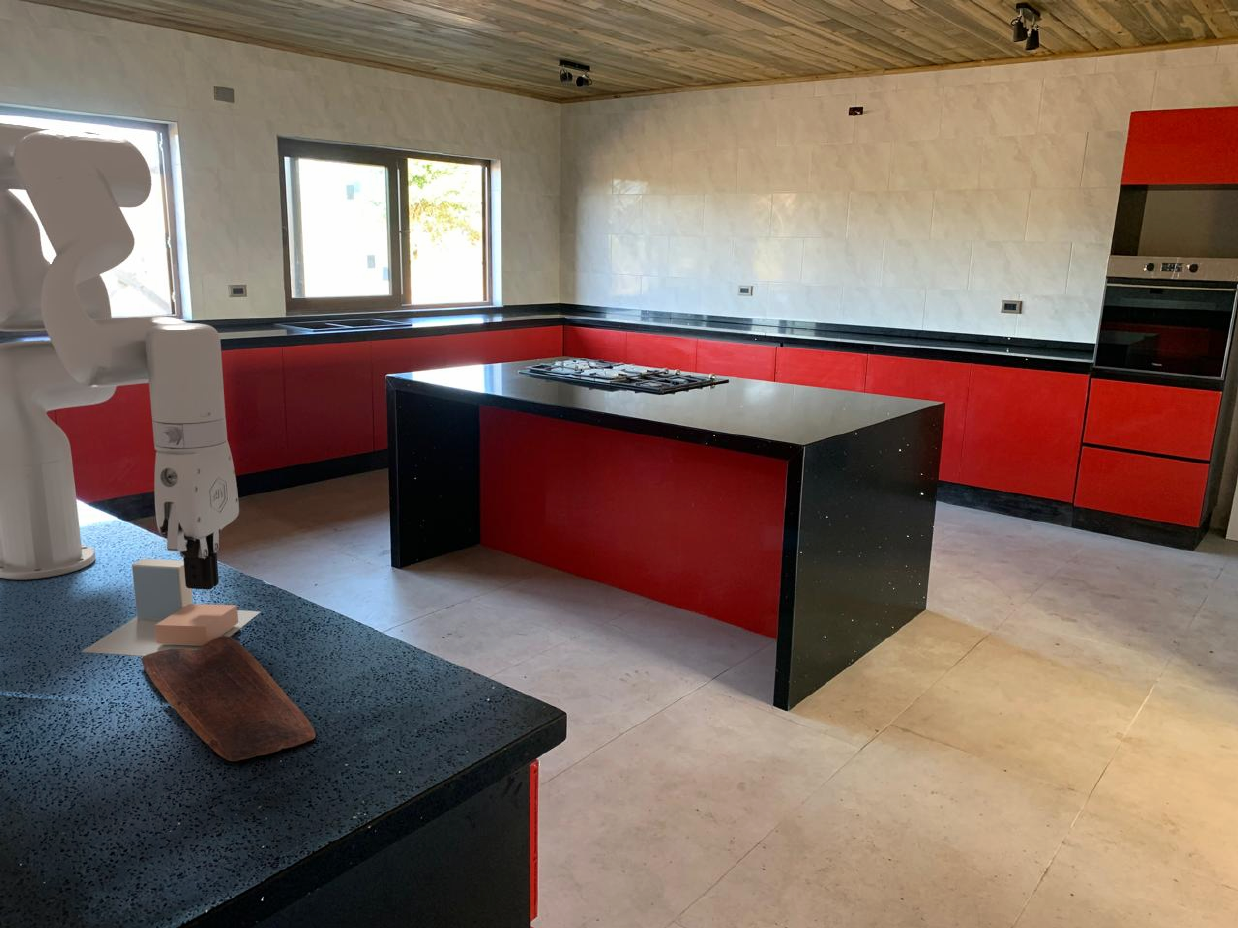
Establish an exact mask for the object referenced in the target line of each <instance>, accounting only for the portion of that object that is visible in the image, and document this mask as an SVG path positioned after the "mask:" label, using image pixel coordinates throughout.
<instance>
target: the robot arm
mask: <svg viewBox="0 0 1238 928" xmlns="http://www.w3.org/2000/svg"><path fill="white" fill-rule="evenodd" d="M149 167H150V166H149V164H148V162H147V160H146V158H145V157H144V155H143V154H142V152H141V151H140V149H138V147H137V146H135V145H134V144H133V143H132V142H131V141H128V140H127V139H124V138H121V137H117V136H112V135H108V134H106V133H101V132H97V131H94V130H90V129H87V128H80V127H74V126H67V125H61V124H60V125H59V124H51V123H44V122H43V123H42V122H35V121H28V120H22V119H16V118H15V119H14V118H6V117H0V332H33V331H35V332H37V331H46V333H47V335H48V337H49V339H50V340H45V339H44V340H43V339H41V340H40V339H39V340H27V341H26V340H25V341H24V340H23V341H9V342H3V343H2V342H1V343H0V579H5V580H6V579H7V580H36V579H37V580H38V579H45V578H51V577H57V576H61V575H66V574H70V573H74V572H75V571H79V570H82V569H84V568H86V567H88V566H90V565H91V564H92V563H93V562H94V561H95V559H96V551H95V550H94V549H93V548H92V547H90V546H88V545H85V544H83V545H82V537H81V527H80V522H79V520H80V519H79V510H78V504H77V503H78V501H77V495H76V494H77V492H76V491H77V490H76V485H75V475H74V464H73V458H72V457H73V456H72V450H71V444H70V441H69V438H68V436H67V435H66V433H65V432H64V430H62V428H61V427H60V426H59V425H57V424H56V423H55V422H54V421H53V420H52V419H51V418H50V417H49V416H48V414H47V413H48V412H50V411H55V410H58V409H59V410H60V409H65V408H67V409H68V408H77V407H84V406H91V405H97V404H101V403H104V402H107V401H108V400H110V399H111V398H113V396H114V395H115V393H116V390H117V387H119V386H129V385H139V384H148V388H149V389H148V390H149V399H150V410H151V411H150V413H151V419H152V420H151V423H152V433H153V434H152V435H153V443H154V444H153V445H154V450H155V451H156V452H155V460H154V462H155V463H154V507H155V508H154V509H155V518H156V519H155V520H156V521H155V522H156V526H157V531H158V533H159V535H160V536H161V537H164V538H167V540H166V541H167V542H166V550H167V551H169V552H177V553H179V555H180V557H181V558H182V559H183V560H182V561H184V572H185V584H186V587H187V588H192V590H193V589H194V590H195V589H196V590H209V591H210V590H212V589H213V588H215V587H216V586H218V585H219V584H220V583H219V581H220V580H219V565H218V555H217V554H218V553H217V552H218V550H219V548H220V545H219V543H220V539H219V538H220V537H219V536H220V533H221V531H222V530H223V529H224V528H225V527H226V526H227V525H230V523H232V522H234V521H235V520H236V519H237V517H238V516H239V514H240V506H239V505H240V503H239V495H238V494H239V493H238V487H237V477H236V472H235V466H234V465H235V464H234V460H233V456H232V451H231V448H230V444H229V441H228V432H227V431H228V430H227V418H226V407H225V406H226V405H225V394H224V393H225V392H224V389H225V387H224V377H223V376H224V375H223V360H222V359H223V358H222V346H221V345H222V344H221V337H220V334H219V332H218V331H217V330H216V328H215V327H213V326H212V325H209V324H205V323H192V322H188V321H185V320H183V319H180V318H177V317H172V316H151V317H150V316H149V317H148V316H147V317H146V316H145V317H134V316H133V317H112V308H111V302H110V296H109V292H108V288H107V287H106V284H105V281H104V280H103V277H102V276H101V274H104V273H106V272H108V271H110V270H113V269H114V268H116V267H117V266H119V265H120V264H122V263H123V262H124V261H126V259H128V257H130V255H131V254H132V252H133V250H134V248H135V243H136V242H135V236H134V233H133V231H132V229H131V227H130V226H129V224H128V222H127V219H126V217H125V215H124V214H123V211H122V209H121V208H136V207H139V206H141V205H142V204H144V203H145V202H146V200H148V198H149V196H150V193H151V190H152V175H151V174H152V173H151V170H150V168H149ZM11 190H21V191H26V194H27V196H28V198H29V200H30V203H31V205H32V206H33V209H34V211H35V213H36V215H37V217H38V219H39V222H40V223H41V225H42V228H43V230H44V232H45V234H46V236H47V238H48V240H49V242H50V244H51V247H52V248H53V250H54V252H55V257H54V258H53V259H47V258H45V256H44V252H43V247H42V240H41V238H42V236H41V232H40V226H39V224H38V221H37V218H35V216H34V215H33V213H32V212H31V211H30V210H29V208H28V207H27V206H26V205H25V204H24V202H22V201H21V200H20V199H19V198H18V196H16V195H15V194H14V193H13V192H12V191H11Z"/></svg>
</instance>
